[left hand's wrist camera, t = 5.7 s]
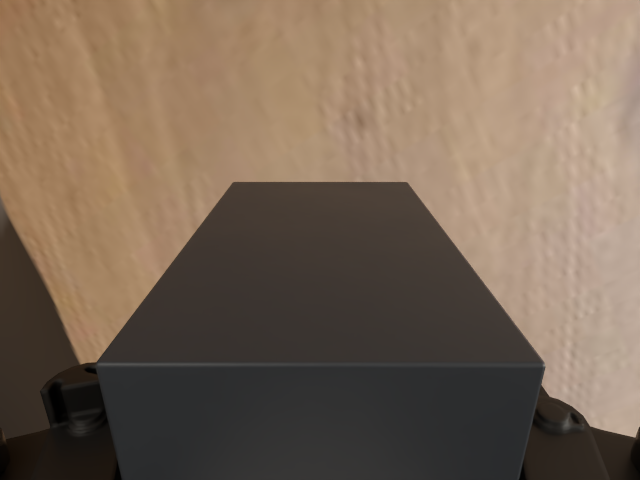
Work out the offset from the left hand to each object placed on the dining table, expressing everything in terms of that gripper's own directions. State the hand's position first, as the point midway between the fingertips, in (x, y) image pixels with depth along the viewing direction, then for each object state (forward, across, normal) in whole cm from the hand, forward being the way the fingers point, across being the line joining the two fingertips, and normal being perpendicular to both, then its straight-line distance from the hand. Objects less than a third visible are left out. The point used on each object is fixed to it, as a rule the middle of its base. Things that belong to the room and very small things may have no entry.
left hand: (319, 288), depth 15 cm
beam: (0, 0, -8) cm, 8 cm away
